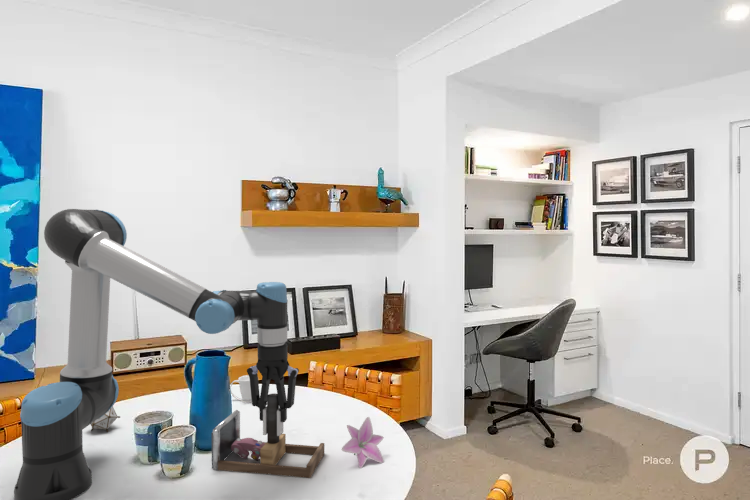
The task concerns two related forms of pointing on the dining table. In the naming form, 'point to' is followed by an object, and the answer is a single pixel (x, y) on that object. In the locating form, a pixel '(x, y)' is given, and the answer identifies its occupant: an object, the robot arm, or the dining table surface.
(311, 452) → the brown flat rectangular frame
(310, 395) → the dining table surface
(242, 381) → the cup
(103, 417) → the game die
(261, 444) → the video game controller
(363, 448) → the lily
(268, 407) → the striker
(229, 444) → the grey tablet
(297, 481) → the dining table surface
